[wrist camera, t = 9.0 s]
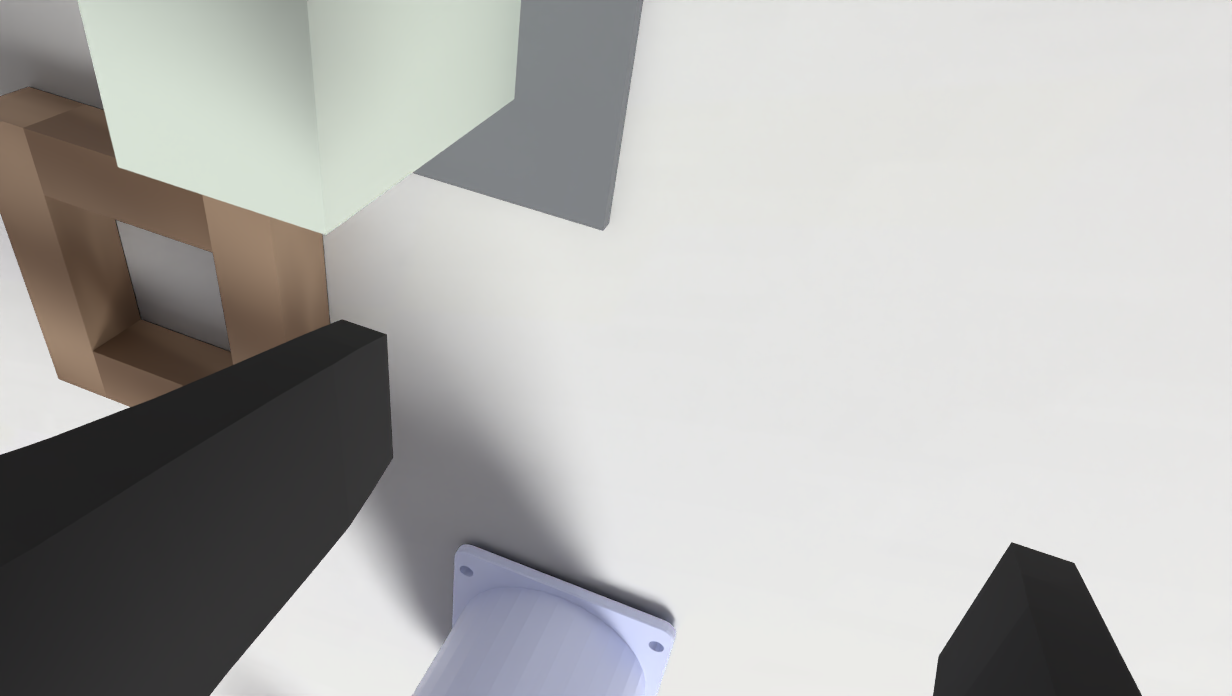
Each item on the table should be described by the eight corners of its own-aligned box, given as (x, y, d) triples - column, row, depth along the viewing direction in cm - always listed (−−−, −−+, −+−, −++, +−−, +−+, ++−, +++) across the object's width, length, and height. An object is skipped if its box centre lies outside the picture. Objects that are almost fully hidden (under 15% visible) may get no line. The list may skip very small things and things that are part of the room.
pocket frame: (339, 435, 28) (302, 473, 26) (106, 347, 30) (59, 378, 28) (316, 176, 22) (267, 207, 21) (29, 86, 24) (-37, 108, 22)
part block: (514, 98, 19) (326, 234, 13) (357, 55, 19) (117, 167, 14) (527, -100, 16) (303, -34, 11) (348, -142, 17) (53, -99, 11)
